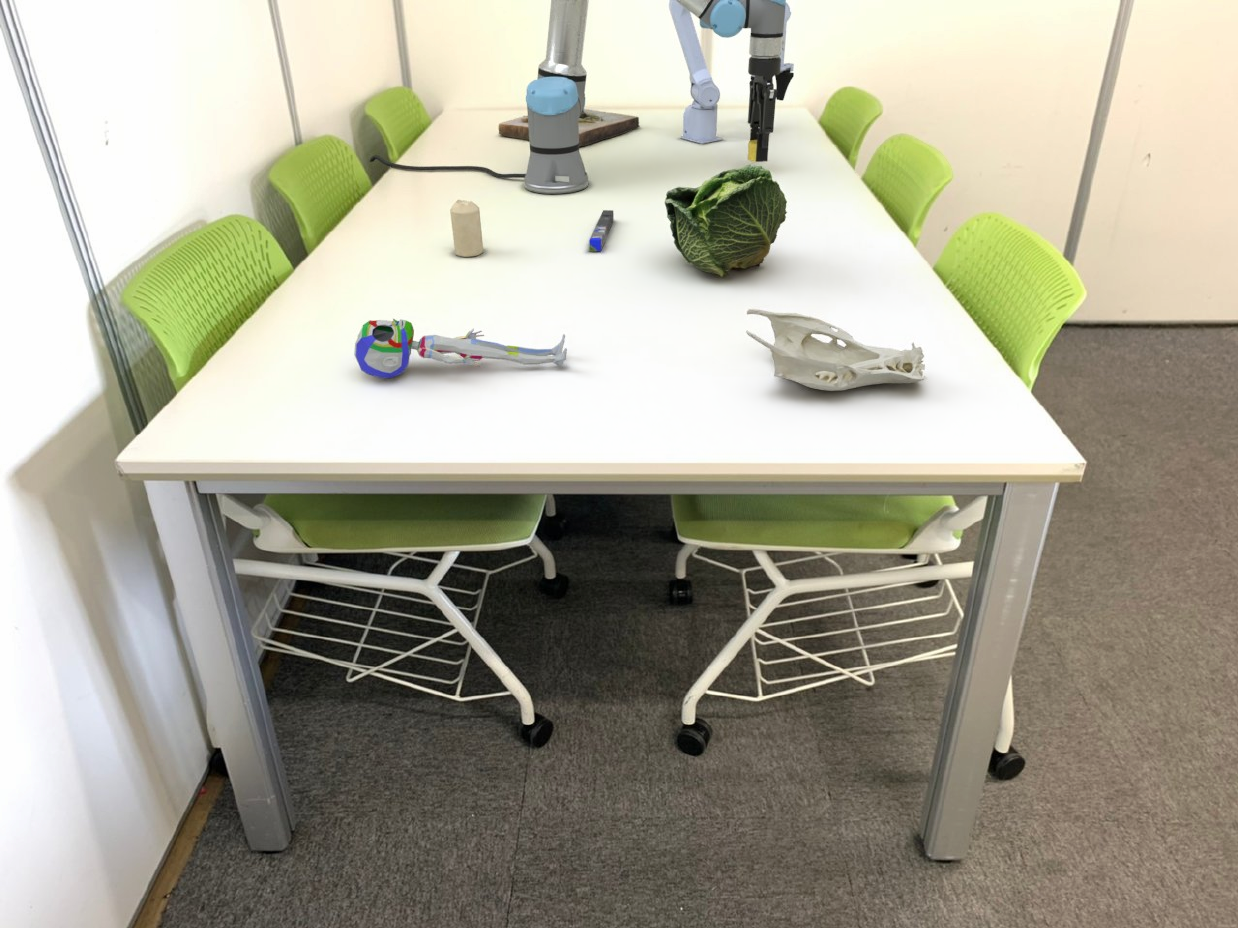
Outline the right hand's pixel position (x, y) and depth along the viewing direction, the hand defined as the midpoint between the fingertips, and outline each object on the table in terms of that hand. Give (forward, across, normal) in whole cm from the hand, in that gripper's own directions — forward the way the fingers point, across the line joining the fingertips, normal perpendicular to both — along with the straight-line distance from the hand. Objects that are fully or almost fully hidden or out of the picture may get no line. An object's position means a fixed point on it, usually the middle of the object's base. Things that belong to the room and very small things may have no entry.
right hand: (770, 101), depth 251 cm
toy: (+9, -142, -76) cm, 162 cm away
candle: (+9, -116, -32) cm, 121 cm away
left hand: (+6, -30, -25) cm, 39 cm away
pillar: (+9, -90, -41) cm, 99 cm away
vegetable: (+9, -84, -70) cm, 110 cm away
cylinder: (+6, -30, -25) cm, 39 cm away
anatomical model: (+9, -104, -113) cm, 154 cm away
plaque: (+9, -39, +42) cm, 58 cm away
